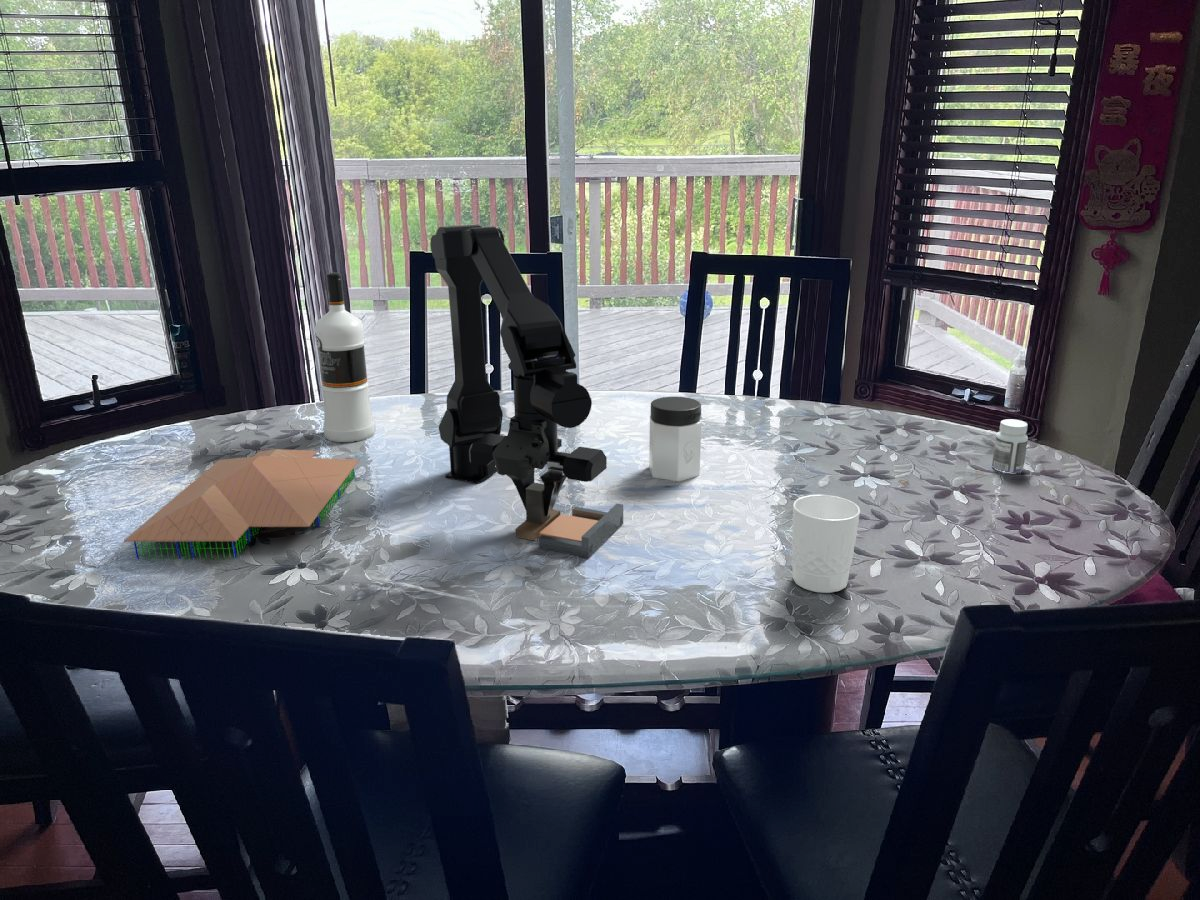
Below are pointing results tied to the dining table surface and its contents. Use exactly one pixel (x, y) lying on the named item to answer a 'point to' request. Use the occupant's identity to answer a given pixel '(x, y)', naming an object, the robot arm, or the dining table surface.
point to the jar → (675, 438)
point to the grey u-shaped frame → (592, 537)
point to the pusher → (535, 513)
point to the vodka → (343, 370)
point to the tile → (568, 527)
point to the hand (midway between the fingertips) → (538, 513)
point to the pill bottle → (1010, 446)
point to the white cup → (823, 541)
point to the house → (247, 499)
